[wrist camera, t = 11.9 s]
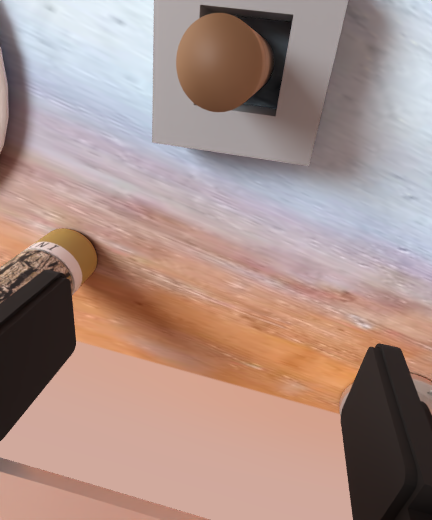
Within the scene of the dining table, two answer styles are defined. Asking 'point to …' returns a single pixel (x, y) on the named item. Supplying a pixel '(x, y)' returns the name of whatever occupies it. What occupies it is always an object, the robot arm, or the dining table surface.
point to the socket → (245, 116)
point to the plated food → (3, 102)
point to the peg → (222, 62)
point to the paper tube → (50, 261)
